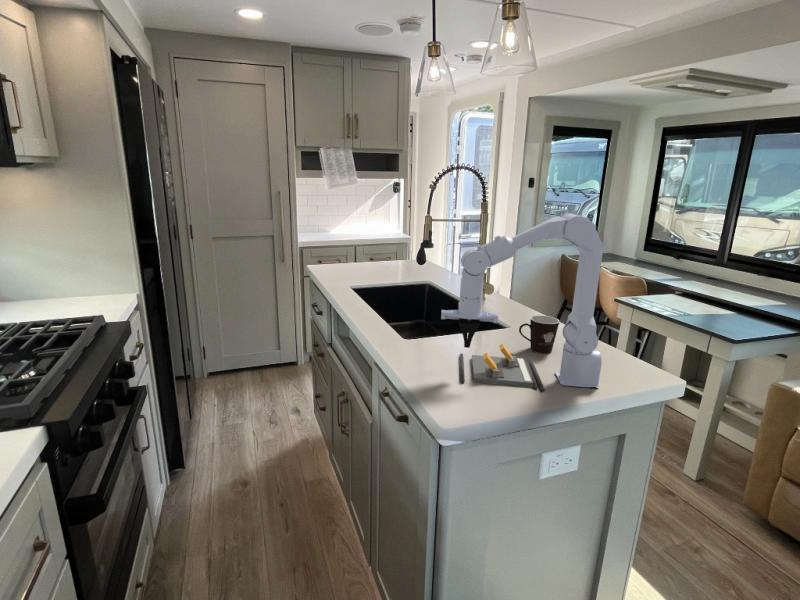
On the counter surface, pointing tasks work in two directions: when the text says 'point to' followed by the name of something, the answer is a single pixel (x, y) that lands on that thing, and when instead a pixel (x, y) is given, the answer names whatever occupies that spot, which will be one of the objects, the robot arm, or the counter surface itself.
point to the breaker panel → (502, 371)
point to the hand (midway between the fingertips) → (466, 346)
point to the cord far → (462, 368)
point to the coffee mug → (542, 333)
